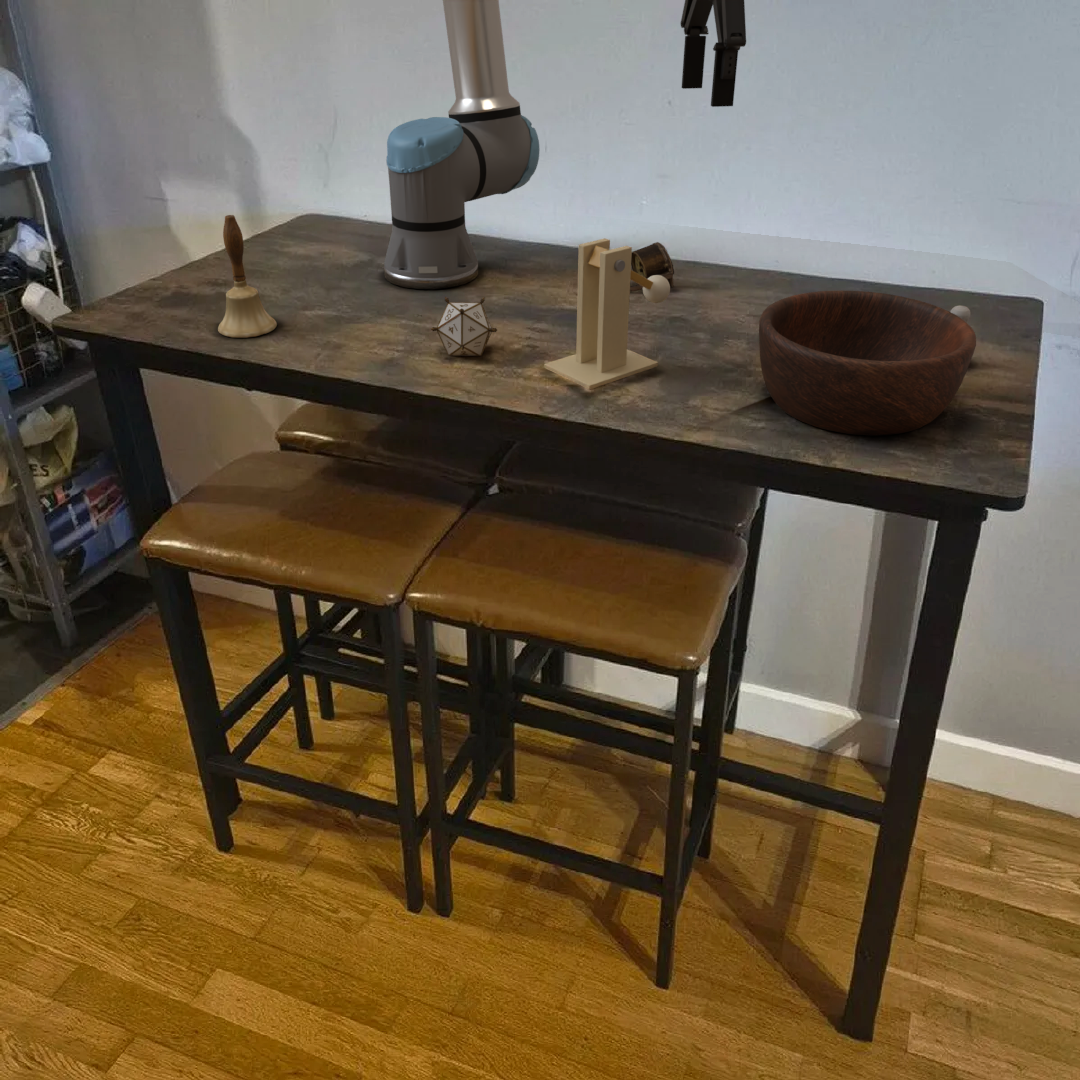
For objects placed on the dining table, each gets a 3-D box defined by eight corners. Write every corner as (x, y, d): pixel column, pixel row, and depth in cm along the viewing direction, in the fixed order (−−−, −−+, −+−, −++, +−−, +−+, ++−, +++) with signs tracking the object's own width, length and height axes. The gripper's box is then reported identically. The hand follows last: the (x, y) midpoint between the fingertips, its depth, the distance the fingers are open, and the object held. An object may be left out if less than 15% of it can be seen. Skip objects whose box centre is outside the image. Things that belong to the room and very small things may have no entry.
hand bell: (206, 333, 151) (186, 220, 143) (240, 314, 158) (223, 205, 149) (254, 341, 149) (237, 227, 140) (288, 322, 155) (273, 211, 147)
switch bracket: (611, 352, 146) (616, 229, 137) (657, 372, 140) (665, 245, 131) (543, 373, 139) (544, 246, 130) (589, 395, 133) (593, 264, 124)
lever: (649, 302, 142) (660, 277, 142) (668, 309, 140) (679, 284, 139) (582, 266, 132) (593, 239, 131) (601, 273, 130) (613, 245, 129)
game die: (471, 388, 144) (465, 350, 135) (423, 355, 146) (414, 315, 137) (512, 342, 147) (508, 301, 137) (464, 310, 149) (457, 268, 139)
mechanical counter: (682, 267, 160) (679, 234, 167) (598, 258, 159) (598, 226, 166) (673, 308, 165) (670, 275, 172) (592, 300, 164) (592, 266, 172)
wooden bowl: (714, 379, 138) (721, 303, 132) (873, 353, 145) (886, 279, 140) (826, 464, 118) (841, 378, 112) (1004, 427, 126) (1025, 345, 120)
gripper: (787, -87, 119) (765, 113, 131) (719, -93, 140) (706, 80, 152) (722, -87, 118) (706, 115, 130) (664, -93, 139) (654, 81, 151)
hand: (706, 97), depth 141 cm, fingers open, 13 cm apart
